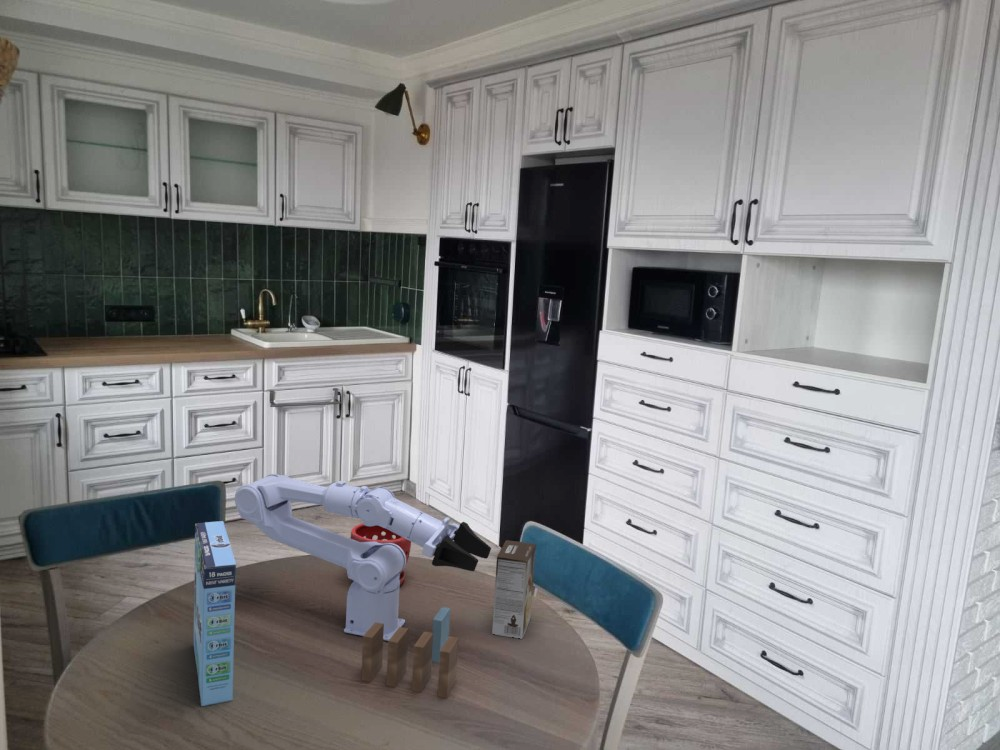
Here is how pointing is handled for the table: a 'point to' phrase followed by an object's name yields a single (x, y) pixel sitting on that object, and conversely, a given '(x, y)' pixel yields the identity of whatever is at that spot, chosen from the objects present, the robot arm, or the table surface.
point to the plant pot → (381, 539)
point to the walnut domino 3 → (422, 662)
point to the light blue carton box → (214, 612)
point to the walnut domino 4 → (448, 667)
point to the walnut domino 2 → (397, 657)
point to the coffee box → (513, 589)
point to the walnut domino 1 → (372, 651)
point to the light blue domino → (440, 632)
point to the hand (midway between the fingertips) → (482, 559)
